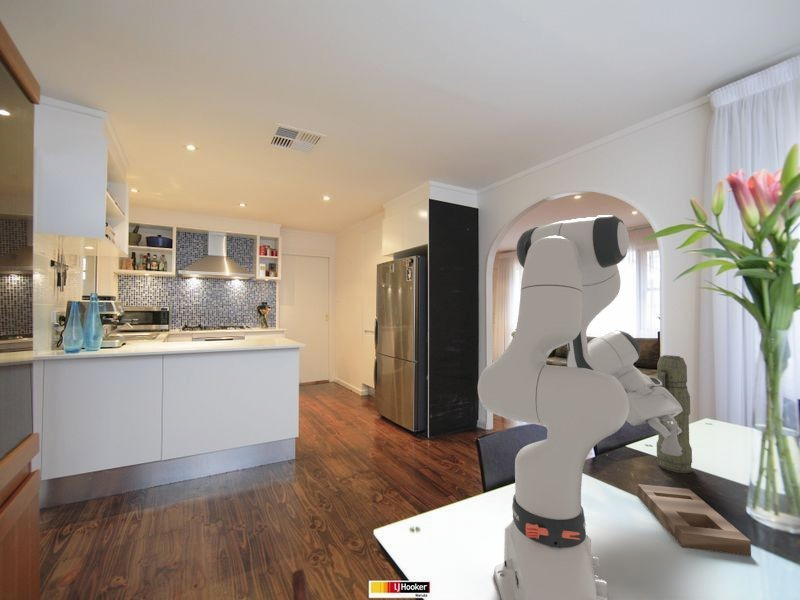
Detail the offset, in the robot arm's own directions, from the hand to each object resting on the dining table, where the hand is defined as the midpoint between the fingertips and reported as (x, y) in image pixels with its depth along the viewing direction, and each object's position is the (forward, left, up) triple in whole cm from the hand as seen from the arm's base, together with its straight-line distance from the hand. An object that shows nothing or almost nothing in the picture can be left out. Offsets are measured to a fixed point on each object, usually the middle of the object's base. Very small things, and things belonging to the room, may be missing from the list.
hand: (673, 434), depth 90 cm
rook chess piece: (0, 0, -5) cm, 5 cm away
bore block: (-5, 0, -18) cm, 19 cm away
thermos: (+29, -13, -18) cm, 36 cm away
